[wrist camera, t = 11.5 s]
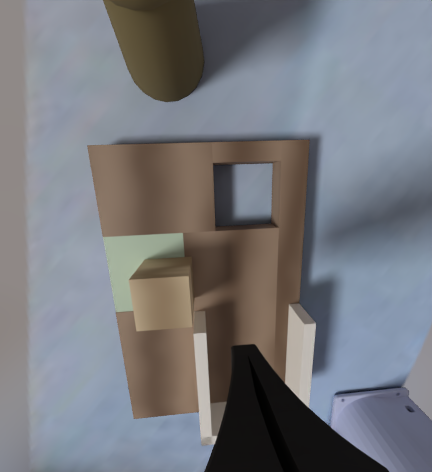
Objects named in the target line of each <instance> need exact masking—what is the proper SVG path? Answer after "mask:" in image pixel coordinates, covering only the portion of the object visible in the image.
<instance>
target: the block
mask: <svg viewBox="0 0 432 472" xmlns="http://www.w3.org/2000/svg"><path fill="white" fill-rule="evenodd" d="M129 286H130V292H131V299H132V305H133V312H134V318H135V325H136V331H148V330H161V329H174V328H187V327H193V314H194V300H195V297H194V283H193V269H192V257H177V258H160V259H145V260H144V261H143V262H142V263H141V265H140V266H139V267H138V269H137V270H136V271H135V272H134V274H133V275H132V276H131V278H130V279H129Z"/></svg>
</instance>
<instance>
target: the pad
mask: <svg viewBox="0 0 432 472" xmlns="http://www.w3.org/2000/svg"><path fill="white" fill-rule="evenodd" d="M103 239H104V245H105V251H106V256H107V262H108V268H109V274H110V280H111V286H112V292H113V298H114V303H115V309H116V312H127V311H133V305H132V299H131V292H130V286H129V279H130V278H131V276H132V275H133V274H134V272H135V271H136V270H137V269H138V267H139V266H140V265H141V263H142V262H143V261H144V260H145V259H160V258H177V257H185V255H184V242H183V233H171V234H152V235H133V236H115V237H103Z"/></svg>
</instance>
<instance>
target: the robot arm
mask: <svg viewBox="0 0 432 472" xmlns="http://www.w3.org/2000/svg"><path fill="white" fill-rule="evenodd" d="M408 395H409V391H408V390H407V389H406V388H394V389H385V390H375V391H366V392H357V393H347V394H338V395H335V396H334V400H333V408H332V416H331V424H330V426H329V425H327V424H326V423H325V422H324V421H323V420H321V419H320V418H319V417H318V416H317V415H316V414H315V413H314V412H313V411H312V410H310V409H309V408H308V407H307V406H306V405H305V404H304V403H303V402H302V401H301V400H300V399H299V398H298V397H297V396H296V395H295V394H294V393H293V391H292V390H291V389H290V388H289V387H288V386H287V385H286V384H285V383H284V381H283V380H282V379H281V378H280V377H279V375H278V374H277V373H276V372H275V371H274V369H273V368H272V367H271V366H270V364H269V363H268V362H267V360H266V359H265V357H264V356H263V355H262V353H261V352H260V350H259V349H258V347H257V346H256V345H255V344H247V345H235V346H232V347H231V381H230V386H229V392H228V398H227V402H226V407H225V411H224V415H223V418H222V422H221V425H220V429H219V432H218V435H217V439H216V441H215V444H214V447H213V450H212V453H211V456H210V459H209V461H208V464H207V466H206V469H205V471H204V472H432V420H430V418H429V417H428V416H427V415H426V414H425V413H424V412H423V411H422V410H421V409H420V408H419V407H418V406H417V405H416V404H415V403H414V402H413V401H412V400H411V399H410V398H409V397H408Z"/></svg>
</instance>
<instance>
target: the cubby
mask: <svg viewBox="0 0 432 472" xmlns="http://www.w3.org/2000/svg"><path fill="white" fill-rule="evenodd" d="M315 330H316V323H315V322H314V320H313V319H312V318H311V317H310V316H309V314H308V313H307V312H306V311H305V310H304V309H303V307H302V306H301V305H300V304H289V315H288V335H287V354H286V374H285V384H286V385H287V386H288V387H289V388H290V389H291V390H292V391H293V393H294V394H295V395H296V396H297V397H298V398H299V399H300V400H301V401H302V402H303V403H304V404H305V405H306V406H307V407H308V408H309V399H310V388H311V376H312V365H313V353H314V342H315ZM193 335H194V349H195V363H196V376H197V390H198V404H199V417H200V431H201V445H202V446H203V445H211V444H215V441H216V439H217V435H218V432H219V429H220V425H221V422H222V418H223V415H224V411H225V407H226V402H218V403H210V389H209V371H208V353H207V335H206V317H205V311H195V312H194V331H193Z"/></svg>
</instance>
